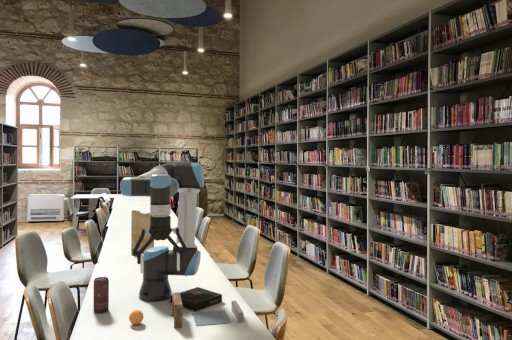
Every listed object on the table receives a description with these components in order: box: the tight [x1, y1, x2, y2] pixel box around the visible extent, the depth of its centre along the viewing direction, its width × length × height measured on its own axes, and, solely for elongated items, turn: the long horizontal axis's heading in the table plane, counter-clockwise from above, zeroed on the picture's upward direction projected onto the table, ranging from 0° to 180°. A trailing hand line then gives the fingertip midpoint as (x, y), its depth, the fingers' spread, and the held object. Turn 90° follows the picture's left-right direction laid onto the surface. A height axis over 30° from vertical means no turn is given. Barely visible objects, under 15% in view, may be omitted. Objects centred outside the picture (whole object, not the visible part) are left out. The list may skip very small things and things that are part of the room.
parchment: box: [130, 209, 155, 256], centre depth 273 cm, size 23×6×30 cm, turn 43°
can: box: [93, 276, 110, 314], centre depth 178 cm, size 6×6×14 cm
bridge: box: [171, 292, 183, 329], centre depth 169 cm, size 3×14×9 cm, turn 15°
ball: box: [128, 309, 144, 325], centre depth 165 cm, size 6×6×6 cm
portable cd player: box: [169, 286, 223, 312], centre depth 191 cm, size 16×17×4 cm
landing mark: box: [192, 309, 231, 327], centre depth 173 cm, size 14×14×1 cm
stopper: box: [231, 300, 244, 323], centre depth 175 cm, size 14×2×4 cm, turn 15°
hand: (160, 271), depth 157 cm, fingers open, 13 cm apart
